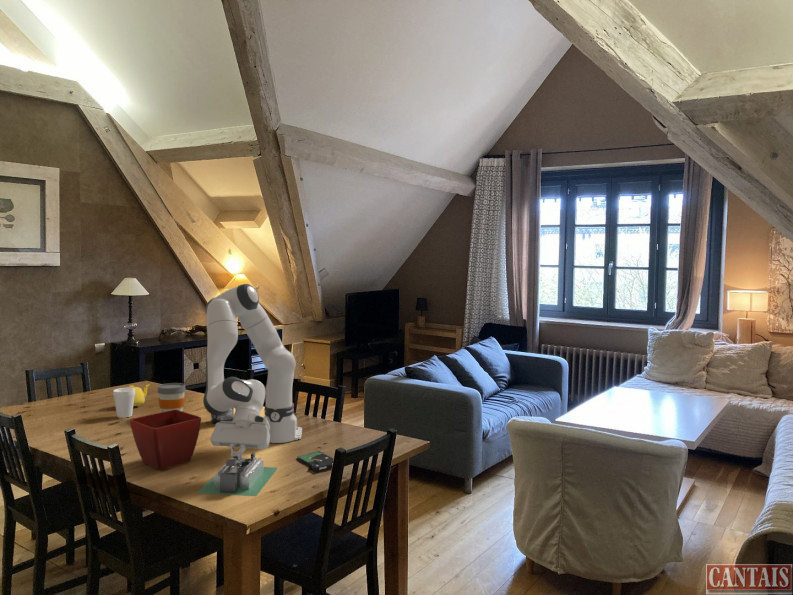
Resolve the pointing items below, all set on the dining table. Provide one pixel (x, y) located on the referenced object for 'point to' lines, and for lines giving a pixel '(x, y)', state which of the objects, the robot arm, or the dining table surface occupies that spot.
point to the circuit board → (253, 491)
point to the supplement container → (223, 416)
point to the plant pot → (166, 437)
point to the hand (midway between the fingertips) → (234, 457)
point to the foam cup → (124, 401)
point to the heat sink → (238, 475)
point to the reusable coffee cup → (171, 396)
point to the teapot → (139, 395)
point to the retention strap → (236, 461)
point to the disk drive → (317, 461)
